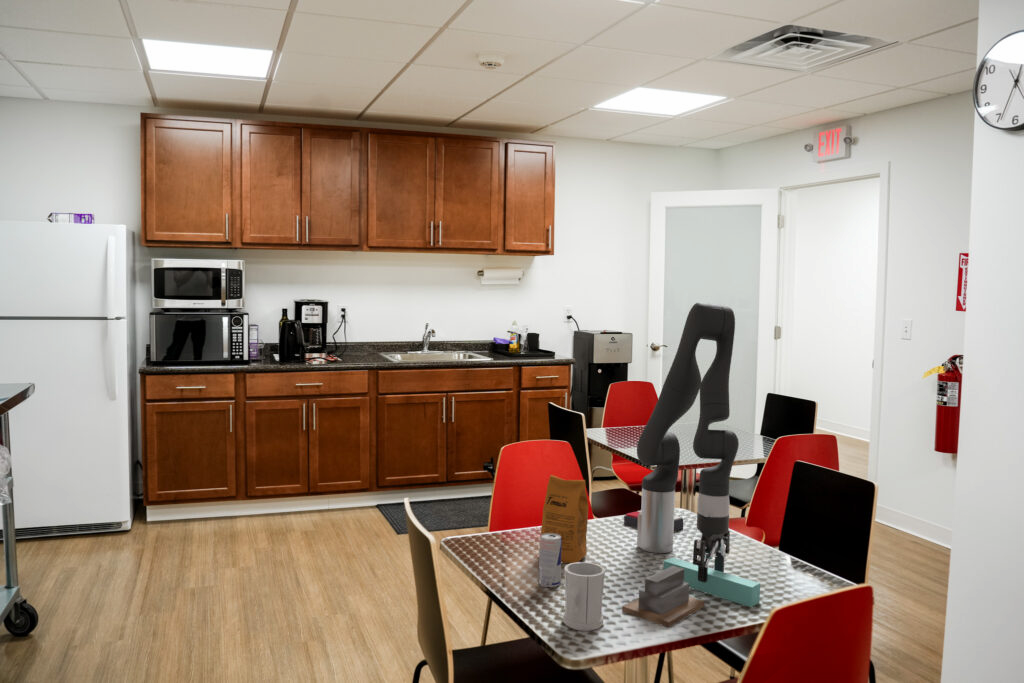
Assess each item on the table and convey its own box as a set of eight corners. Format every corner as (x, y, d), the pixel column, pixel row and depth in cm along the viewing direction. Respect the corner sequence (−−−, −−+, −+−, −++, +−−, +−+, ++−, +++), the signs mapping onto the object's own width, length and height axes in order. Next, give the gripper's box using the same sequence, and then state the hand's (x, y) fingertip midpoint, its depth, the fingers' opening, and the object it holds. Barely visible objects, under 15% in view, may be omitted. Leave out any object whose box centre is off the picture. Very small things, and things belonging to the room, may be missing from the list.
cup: (608, 634, 162) (610, 579, 161) (565, 635, 161) (567, 579, 160) (599, 614, 172) (600, 561, 171) (558, 614, 171) (560, 561, 171)
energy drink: (563, 581, 191) (564, 534, 190) (557, 589, 186) (558, 540, 185) (542, 578, 193) (543, 531, 192) (536, 586, 188) (537, 538, 187)
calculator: (645, 507, 249) (683, 515, 238) (645, 520, 249) (683, 529, 238) (623, 513, 242) (661, 522, 231) (623, 526, 242) (661, 536, 231)
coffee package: (552, 547, 217) (554, 470, 216) (591, 556, 210) (594, 477, 209) (534, 557, 209) (536, 477, 207) (574, 567, 202) (577, 484, 201)
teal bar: (662, 580, 195) (663, 560, 194) (671, 576, 198) (672, 557, 197) (751, 608, 178) (752, 587, 178) (759, 603, 181) (760, 583, 181)
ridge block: (622, 611, 174) (623, 575, 173) (659, 592, 186) (660, 558, 185) (668, 627, 166) (670, 590, 165) (704, 606, 178) (705, 571, 177)
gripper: (712, 503, 195) (710, 566, 195) (684, 514, 184) (682, 580, 185) (740, 509, 190) (738, 573, 190) (713, 520, 179) (711, 588, 180)
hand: (710, 576), depth 188 cm, fingers open, 8 cm apart
